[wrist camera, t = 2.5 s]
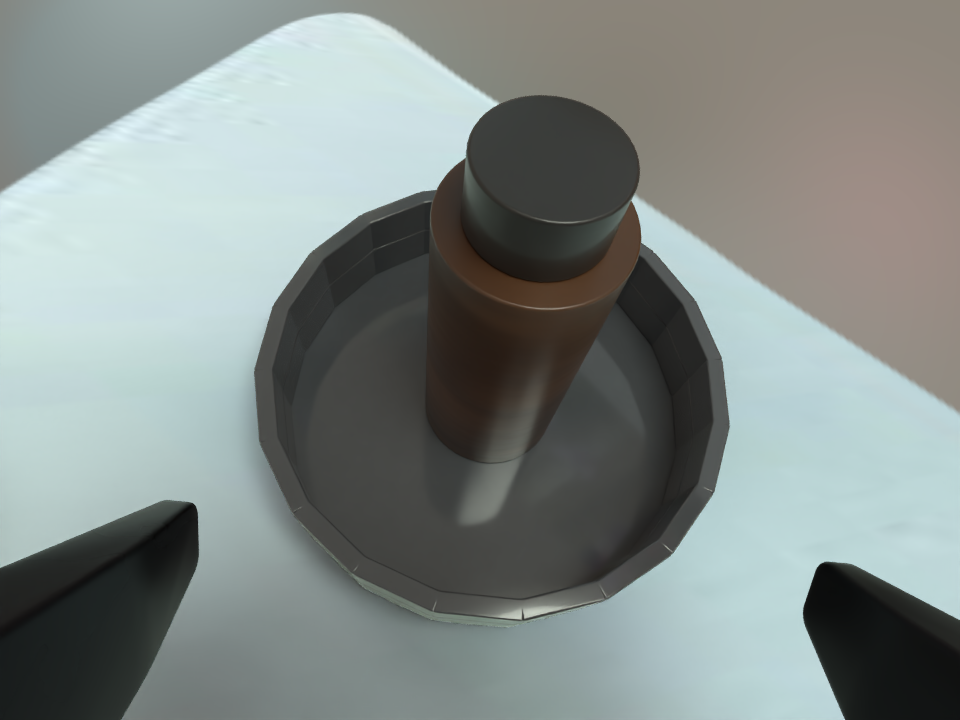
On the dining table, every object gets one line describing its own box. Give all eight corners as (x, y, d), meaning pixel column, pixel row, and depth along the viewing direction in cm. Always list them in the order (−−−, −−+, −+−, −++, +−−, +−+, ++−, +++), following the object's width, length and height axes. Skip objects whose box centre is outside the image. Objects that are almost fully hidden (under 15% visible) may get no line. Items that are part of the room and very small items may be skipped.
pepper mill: (567, 375, 25) (699, 120, 13) (524, 484, 22) (637, 292, 11) (456, 329, 25) (488, 44, 14) (403, 431, 23) (388, 193, 11)
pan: (719, 328, 27) (765, 277, 24) (618, 710, 20) (661, 720, 16) (396, 200, 29) (393, 134, 25) (193, 509, 21) (148, 478, 18)
